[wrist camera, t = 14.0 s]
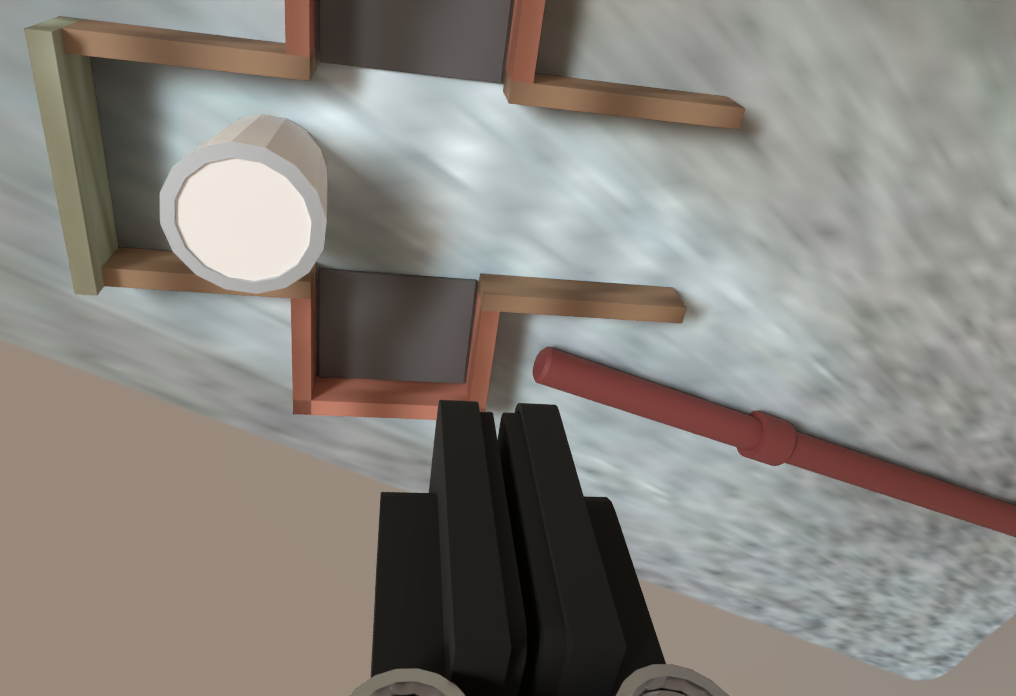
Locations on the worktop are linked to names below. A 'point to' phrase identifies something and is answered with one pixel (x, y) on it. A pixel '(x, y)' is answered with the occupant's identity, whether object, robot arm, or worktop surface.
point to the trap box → (342, 294)
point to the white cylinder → (249, 205)
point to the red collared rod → (766, 438)
